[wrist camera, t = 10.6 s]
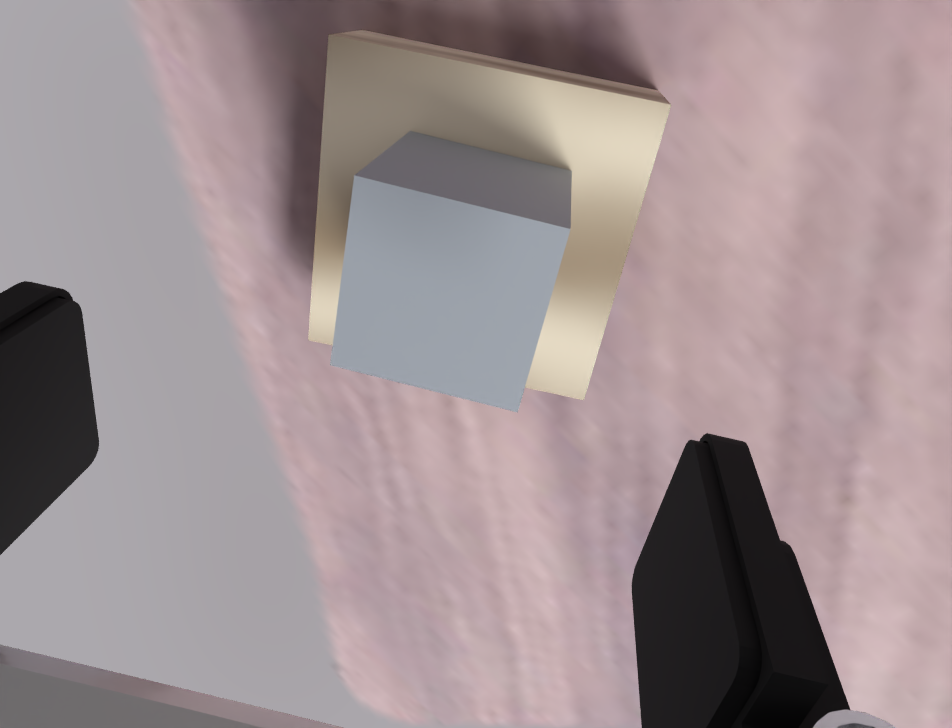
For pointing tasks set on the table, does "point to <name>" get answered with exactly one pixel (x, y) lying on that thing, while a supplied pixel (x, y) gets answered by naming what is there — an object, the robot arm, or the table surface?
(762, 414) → the table surface
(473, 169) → the grey block
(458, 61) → the maple block
